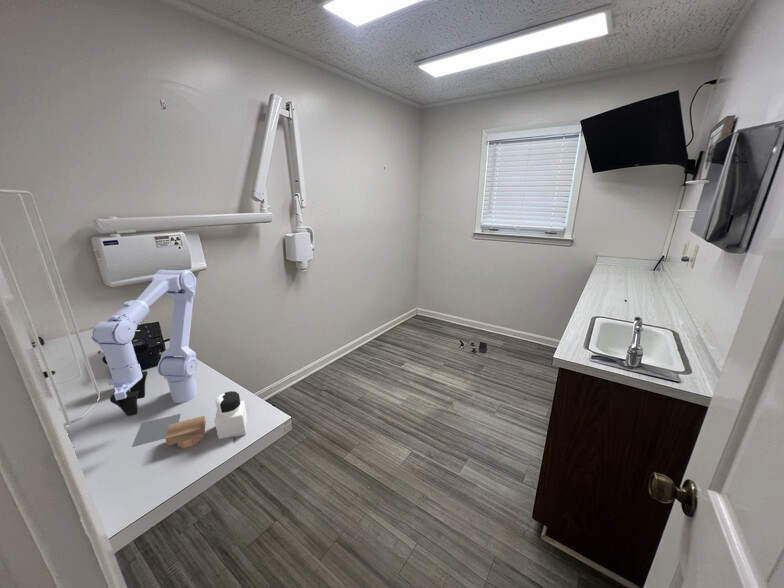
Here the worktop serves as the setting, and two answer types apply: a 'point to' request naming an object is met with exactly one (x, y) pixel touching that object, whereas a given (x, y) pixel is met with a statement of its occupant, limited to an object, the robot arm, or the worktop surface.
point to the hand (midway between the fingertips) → (136, 405)
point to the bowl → (189, 442)
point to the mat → (154, 430)
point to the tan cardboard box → (185, 430)
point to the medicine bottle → (230, 415)
